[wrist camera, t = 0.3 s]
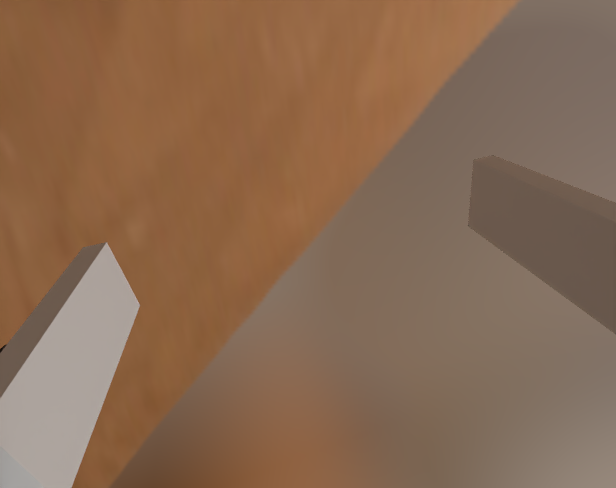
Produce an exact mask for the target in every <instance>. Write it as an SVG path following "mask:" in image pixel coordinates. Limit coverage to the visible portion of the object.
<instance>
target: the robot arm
mask: <svg viewBox="0 0 616 488" xmlns="http://www.w3.org/2000/svg"><path fill="white" fill-rule="evenodd" d="M471 186H472V187H471V197H470V209H469V221H468V226H469V227H470V228H471V229H473V230H474V231H475V232H477V233H478V234H480V235H481V236H482V237H484V238H485V239H486V240H488V241H489V242H490V243H492V244H493V245H495V246H496V247H497V248H499V249H500V250H501V251H503V252H504V253H506V254H507V255H508V256H510V257H511V258H512V259H514V260H515V261H517V262H518V263H519V264H520V265H522V266H523V267H525V268H526V269H528V270H529V271H530V272H531V273H533V274H534V275H536V276H537V277H538V278H540V279H541V280H542V281H544V282H545V283H546V284H548V285H549V286H550V287H552V288H553V289H555V290H556V291H557V292H559V293H560V294H561V295H563V296H564V297H565V298H567V299H568V300H570V301H571V302H572V303H574V304H575V305H577V306H578V307H579V308H581V309H582V310H583V311H585V312H586V313H587V314H589V315H590V316H591V317H593V318H594V319H596V320H597V321H598V322H600V323H601V324H602V325H604V326H605V327H606V328H608V329H609V330H611V331H612V332H613V333H615V334H616V203H615V202H612V201H609V200H607V199H604V198H602V197H599V196H596V195H594V194H591V193H589V192H586V191H583V190H581V189H579V188H576V187H573V186H571V185H568V184H565V183H563V182H561V181H558V180H555V179H553V178H550V177H548V176H545V175H542V174H540V173H537V172H535V171H532V170H530V169H527V168H524V167H522V166H519V165H516V164H514V163H512V162H509V161H506V160H504V159H501V158H499V157H496V156H494V155H492V156H488V157H483V158H479V159H474V161H473V173H472V185H471ZM139 307H140V304H139V303H138V301H137V299H136V297H135V295H134V293H133V291H132V289H131V287H130V286H129V284H128V282H127V280H126V278H125V276H124V274H123V272H122V270H121V268H120V267H119V265H118V263H117V261H116V259H115V257H114V255H113V253H112V251H111V250H110V248H109V246H108V244H107V242H105V243H101V244H96V245H92V246H88V247H83V248H82V250H81V251H80V252H79V253H78V255H77V256H76V257H75V258H74V260H73V261H72V262H71V264H70V265H69V266H68V267H67V269H66V270H65V271H64V272H63V274H62V275H61V276H60V278H59V279H58V280H57V281H56V283H55V284H54V285H53V287H52V288H51V289H50V290H49V292H48V293H47V294H46V295H45V297H44V298H43V299H42V301H41V302H40V303H39V304H38V306H37V307H36V308H35V309H34V311H33V312H32V313H31V315H30V316H29V317H28V318H27V320H26V321H25V322H24V324H23V325H22V326H21V327H20V329H19V330H18V331H17V332H16V334H15V335H14V336H13V338H12V339H11V340H10V341H9V343H8V344H7V345H4V346H3V347H2V348H1V349H0V488H71V487H72V485H73V482H74V479H75V477H76V474H77V471H78V469H79V466H80V463H81V461H82V458H83V455H84V453H85V450H86V447H87V445H88V442H89V439H90V437H91V434H92V431H93V429H94V426H95V423H96V421H97V418H98V416H99V413H100V410H101V408H102V405H103V402H104V400H105V397H106V394H107V392H108V389H109V386H110V384H111V381H112V378H113V376H114V373H115V370H116V368H117V365H118V362H119V360H120V357H121V354H122V352H123V349H124V346H125V344H126V341H127V338H128V336H129V333H130V330H131V328H132V325H133V322H134V320H135V317H136V315H137V312H138V309H139Z"/></svg>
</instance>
